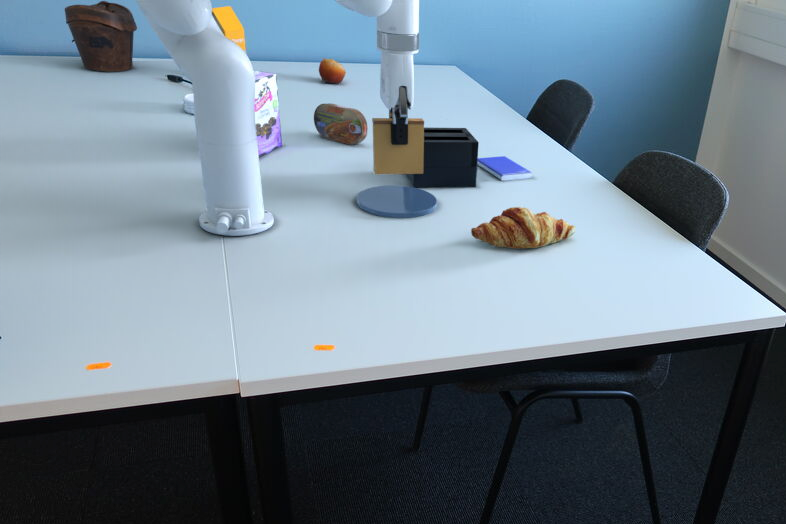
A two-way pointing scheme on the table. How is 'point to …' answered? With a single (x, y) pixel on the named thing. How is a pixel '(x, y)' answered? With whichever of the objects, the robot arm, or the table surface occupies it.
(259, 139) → the candy box
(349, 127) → the tin
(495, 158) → the blue book
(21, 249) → the table surface
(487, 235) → the croissant
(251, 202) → the robot arm
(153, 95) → the table surface
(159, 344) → the table surface
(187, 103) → the white round container
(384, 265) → the table surface
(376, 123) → the toast
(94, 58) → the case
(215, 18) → the orange juice
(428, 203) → the plate
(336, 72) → the fruit
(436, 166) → the toaster
